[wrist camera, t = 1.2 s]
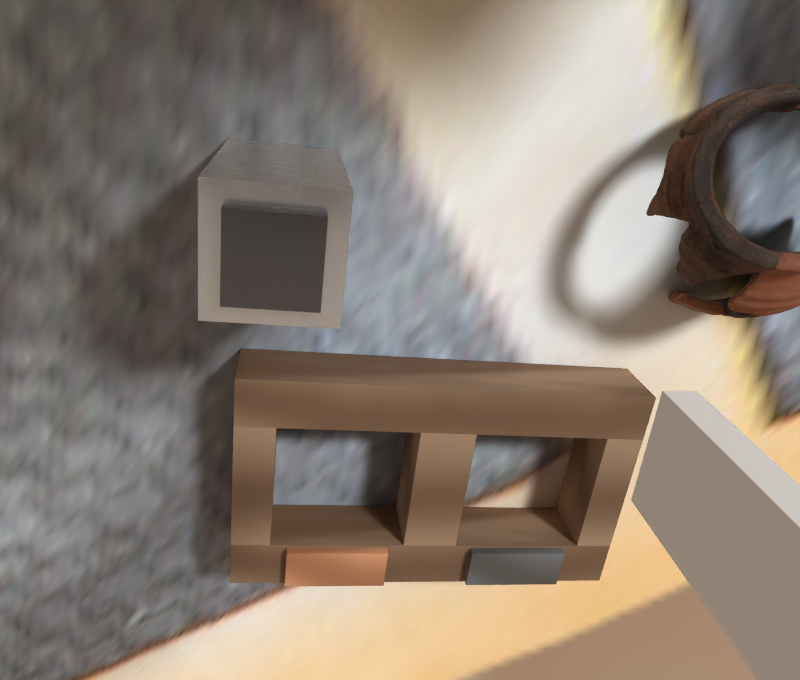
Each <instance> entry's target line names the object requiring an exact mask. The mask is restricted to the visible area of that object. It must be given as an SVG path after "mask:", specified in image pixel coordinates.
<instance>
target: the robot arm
mask: <svg viewBox="0 0 800 680" xmlns="http://www.w3.org/2000/svg"><path fill="white" fill-rule="evenodd" d="M631 501H632V502H633V503H634V505H635V506H636V508H637V509H638V511H639V512H640V513H641V515H642V516H643V518H644V519H645V521H646V522H647V523H648V525H649V526H650V528H651V529H652V531H653V532H654V533H655V535H656V536H657V538H658V539H659V541H660V542H661V543H662V545H663V546H664V548H665V549H666V551H667V552H668V554H669V555H670V556H671V558H672V559H673V561H674V562H675V564H676V565H677V566H678V568H679V569H680V571H681V572H682V574H683V575H684V576H685V578H686V579H687V581H688V582H689V584H690V585H691V586H692V588H693V589H694V591H695V592H696V593H697V595H698V596H699V598H700V599H701V601H702V602H703V604H704V605H705V606H706V608H707V609H708V611H709V612H710V613H711V615H712V616H713V618H714V619H715V621H716V622H717V624H718V625H719V627H720V628H721V629H722V631H723V632H724V634H725V635H726V637H727V638H728V639H729V641H730V642H731V644H732V645H733V646H734V648H735V649H736V651H737V652H738V654H739V655H740V657H741V658H742V659H743V661H744V662H745V664H746V665H747V667H748V668H749V669H750V671H751V672H752V674H753V675H754V677H755V678H756V679H757V680H800V485H799V484H798V483H797V482H796V481H795V480H794V479H793V478H792V477H791V476H790V475H788V474H787V473H786V472H785V471H784V470H783V469H782V468H781V467H780V466H779V465H777V464H776V463H775V462H774V461H773V460H772V459H771V458H770V457H769V456H768V455H766V454H765V453H764V452H763V451H762V450H761V449H760V448H759V447H758V446H757V445H755V444H754V443H753V442H752V441H751V440H750V439H749V438H748V437H747V436H746V435H744V434H743V433H742V432H741V431H740V430H739V429H738V428H737V427H736V426H735V425H733V424H732V423H731V422H730V421H729V420H728V419H727V418H726V417H725V416H724V415H723V414H721V413H720V412H719V411H718V410H717V409H716V408H715V407H714V406H713V405H712V404H710V403H709V402H708V401H707V400H706V399H705V398H704V397H703V396H702V395H701V394H699V393H698V392H697V391H662V394H661V398H660V401H659V405H658V408H657V412H656V415H655V419H654V422H653V426H652V429H651V433H650V436H649V440H648V443H647V447H646V450H645V454H644V457H643V461H642V464H641V468H640V471H639V475H638V478H637V482H636V485H635V489H634V492H633V496H632V499H631Z"/></svg>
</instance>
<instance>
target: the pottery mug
mask: <svg viewBox="0 0 800 680" xmlns="http://www.w3.org/2000/svg"><path fill="white" fill-rule="evenodd" d="M793 110H799V111H800V89H799V88H798V87H796V86H795V85H794V84H792V83H780V84H776V85H770V86H767V87H763V88H761V89H758V90H757V89H744V90H741V91H738V92H735V93H732V94H729V95H727V96H726V97H723V98H721V99H719V100H717V101H715V102H713V103H711V104H710V105H708V106H707V107H705V108H704V109H702V110H701V111H700V112H698V113H697V114H696V115H695V116H694V117H693V118H692V119H691V120H690V121H689V122H687V123H686V124H685V125H684V126H683V127H682V128H681V130H680V132H679V135H680V138H681V139H680V140H678V141H676V142H675V143H674V144H673V145H672V146H671V147H670V150H669V153H668V156H667V159H666V166H665V169H664V175H663V178H662V180H661V183H660V186H659V188H658V190H657V193H656V195H655V196H654V197H653V199H652V201H651V203H650V205H649V208H648V210H647V215H648V216H653V215H660V216H665V217H671V218H676V219H680V220H684V221H687V222H689V227H688V229H687V230H686V231H685V232H684V234H683V235H682V236H681V241H680V245H679V254H680V260H679V263H678V265H677V272H678V274H679V275H680V276H681V277H682V278H683V279H684V281H685V282H686V283H688V284H690V285H696V284H698V283H700V282H703V281H705V280H706V279H711V280H716V279H723V278H726V277H730V276H736V275H742V274H750V273H754V274H753V276H752V278H751V279H750V281H749V282H748V283H747V284H746V285H745V286H744V287H743V288H742V289H741V290H739V291H738V292H736V293H735V294H734V295H733V296H731V297H728V298H724V299H718V300H704V299H700V298H697V297H694V296H692V295H690V294H687V293H683V294H681V293H678V292H672V293H670V295H669V299H670V300H671V301H672V302H675V303H677V304H680V305H682V306H684V307H686V308H689V309H691V310H694V311H699V312H704V313H707V314H711V315H723V316H731V317H734V318H747V317H759V316H767V315H773V314H778V313H781V312H784V311H787V310H790V309H793V308H794V307H797V306H800V252H784V251H771V250H769V249H767V248H764V247H761V246H759V245H757V244H755V243H753V242H751V241H749V240H748V239H746V238H745V237H744V236H742V235H741V234H740V233H739V232H738V231H737V230H736V229H735V228H734V227H733V226H732V225H731V224H730V223H729V222H728V220H727V219H726V218H725V216H724V214H723V213H722V212H721V209H720V207H719V206H718V204H717V202H716V200H715V192H714V187H713V182H714V179H713V171H714V164H715V159H716V154H717V152H718V151H719V148H720V146H721V144H722V143H723V141H724V140H725V139H726V137H727V136H728V135H729V133H730V132H731V131H733V130H734V129H735V128H736V127H737V126H738V125H739V124H741V123H742V122H743V121H745V120H746V119H748V118H750V117H752V116H754V115H757V114H761V113H764V112H768V111H770V112H790V111H793Z"/></svg>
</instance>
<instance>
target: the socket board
mask: <svg viewBox="0 0 800 680" xmlns="http://www.w3.org/2000/svg"><path fill="white" fill-rule="evenodd" d="M655 399H656V397H655V396H654V395H653V394H652V393H651V392H650V391H649V390H648V389H647V388H646V387H645V386H644V385H643V384H642V383H641V382H640V381H639V380H638V379H637V378H636V377H635V376H634V375H633V374H632V373H631V372H630V371H629V370H628V369H621V368H602V367H582V366H563V365H544V364H525V363H506V362H487V361H468V360H449V359H430V358H411V357H392V356H373V355H354V354H335V353H315V352H296V351H277V350H258V349H241V350H240V355H239V360H238V365H237V370H236V374H235V382H234V425H233V467H232V509H231V552H230V583H283V582H285V586H382V585H384V582H430V581H465V583H466V585H511V584H556V583H557V581H577V580H599V579H600V576H601V573H602V570H603V567H604V563H605V560H606V557H607V554H608V550H609V547H610V544H611V541H612V538H613V534H614V531H615V528H616V525H617V521H618V518H619V515H620V512H621V509H622V505H623V502H624V499H625V496H626V492H627V489H628V486H629V483H630V480H631V476H632V473H633V470H634V467H635V464H636V460H637V457H638V454H639V451H640V447H641V444H642V441H643V438H644V435H645V431H646V428H647V425H648V422H649V418H650V415H651V412H652V409H653V406H654V402H655ZM277 428H288V429H319V430H349V431H380V432H407V433H406V440H405V447H404V453H403V460H402V467H401V474H400V481H399V488H398V495H397V502H396V506H333V505H273V489H274V471H275V452H276V433H277ZM477 435H503V436H533V437H564V438H575V440H574V444H573V448H572V452H571V455H570V459H569V463H568V467H567V471H566V474H565V478H564V482H563V486H562V490H561V493H560V497H559V501H558V505H557V508H486V507H463V504H464V499H465V494H466V489H467V484H468V478H469V473H470V468H471V463H472V458H473V453H474V447H475V442H476V437H477Z"/></svg>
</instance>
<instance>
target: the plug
mask: <svg viewBox="0 0 800 680" xmlns="http://www.w3.org/2000/svg"><path fill="white" fill-rule="evenodd" d="M352 200H353V189H352V186H351V183H350V180H349V177H348V174H347V172H346V169H345V166H344V163H343V160H342V157H341V154H340V151H339V150H338V149H328V148H319V147H309V146H300V145H291V144H281V143H272V142H262V141H253V140H243V139H234V138H228V139H227V141H226V142H225V143H224V144H223V146H222V147H221V148H220V149H219V151H218V152H217V153H216V154H215V156H214V157H213V158H212V159H211V161H210V162H209V163H208V164H207V166H206V167H205V168H204V169H203V171H202V172H201V173H200V174H199V176H198V321H212V322H229V323H246V324H263V325H280V326H297V327H314V328H331V329H341V320H342V309H343V298H344V287H345V277H346V266H347V255H348V244H349V233H350V222H351V211H352Z"/></svg>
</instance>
